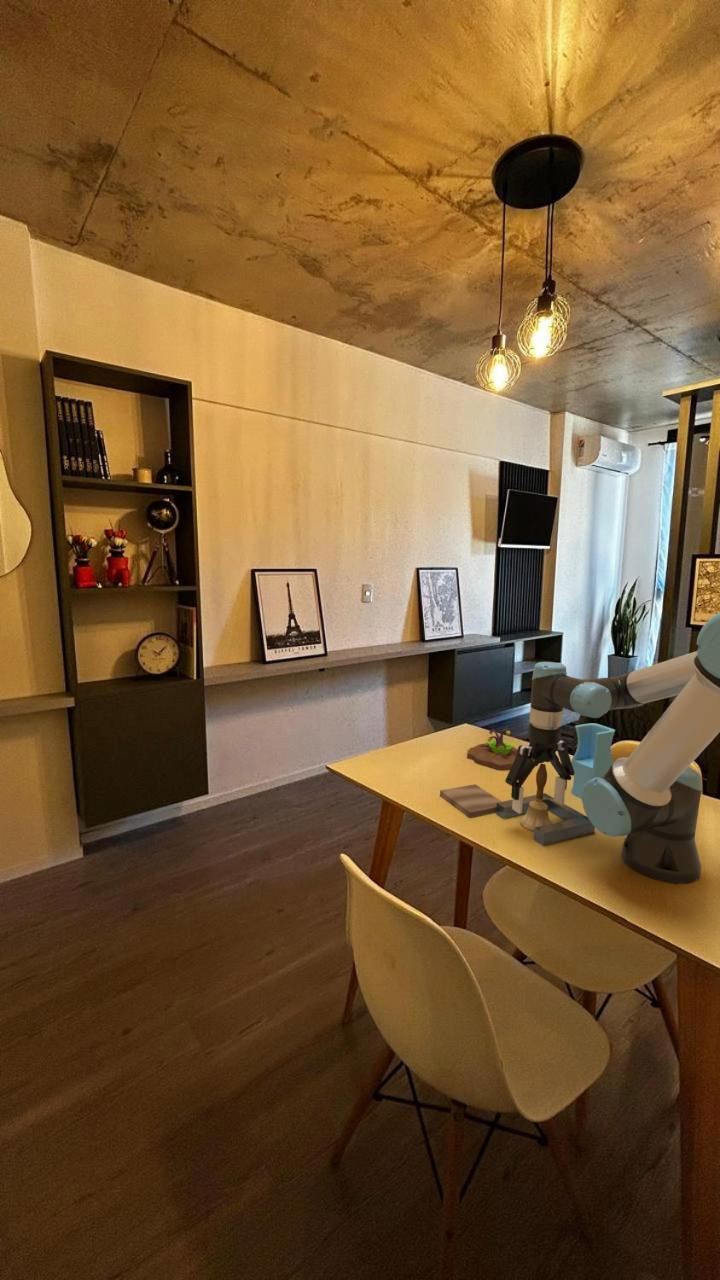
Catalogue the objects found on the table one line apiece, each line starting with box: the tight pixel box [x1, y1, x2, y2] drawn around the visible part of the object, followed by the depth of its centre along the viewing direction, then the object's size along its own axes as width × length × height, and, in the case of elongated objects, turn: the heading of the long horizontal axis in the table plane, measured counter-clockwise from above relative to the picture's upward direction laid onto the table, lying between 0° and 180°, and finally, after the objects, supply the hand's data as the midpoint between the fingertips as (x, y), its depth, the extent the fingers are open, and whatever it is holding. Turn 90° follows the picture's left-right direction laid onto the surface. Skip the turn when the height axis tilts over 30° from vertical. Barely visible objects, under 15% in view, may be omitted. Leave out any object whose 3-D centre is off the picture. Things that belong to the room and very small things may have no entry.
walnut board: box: [439, 784, 503, 819], centre depth 143 cm, size 14×12×2 cm
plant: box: [466, 728, 534, 772], centre depth 176 cm, size 20×20×11 cm
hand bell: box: [519, 763, 554, 832], centre depth 131 cm, size 8×8×16 cm
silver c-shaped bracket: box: [495, 792, 596, 846], centre depth 133 cm, size 17×16×3 cm
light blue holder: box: [570, 722, 616, 799], centre depth 149 cm, size 8×8×20 cm
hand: (538, 806), depth 132 cm, fingers open, 13 cm apart
